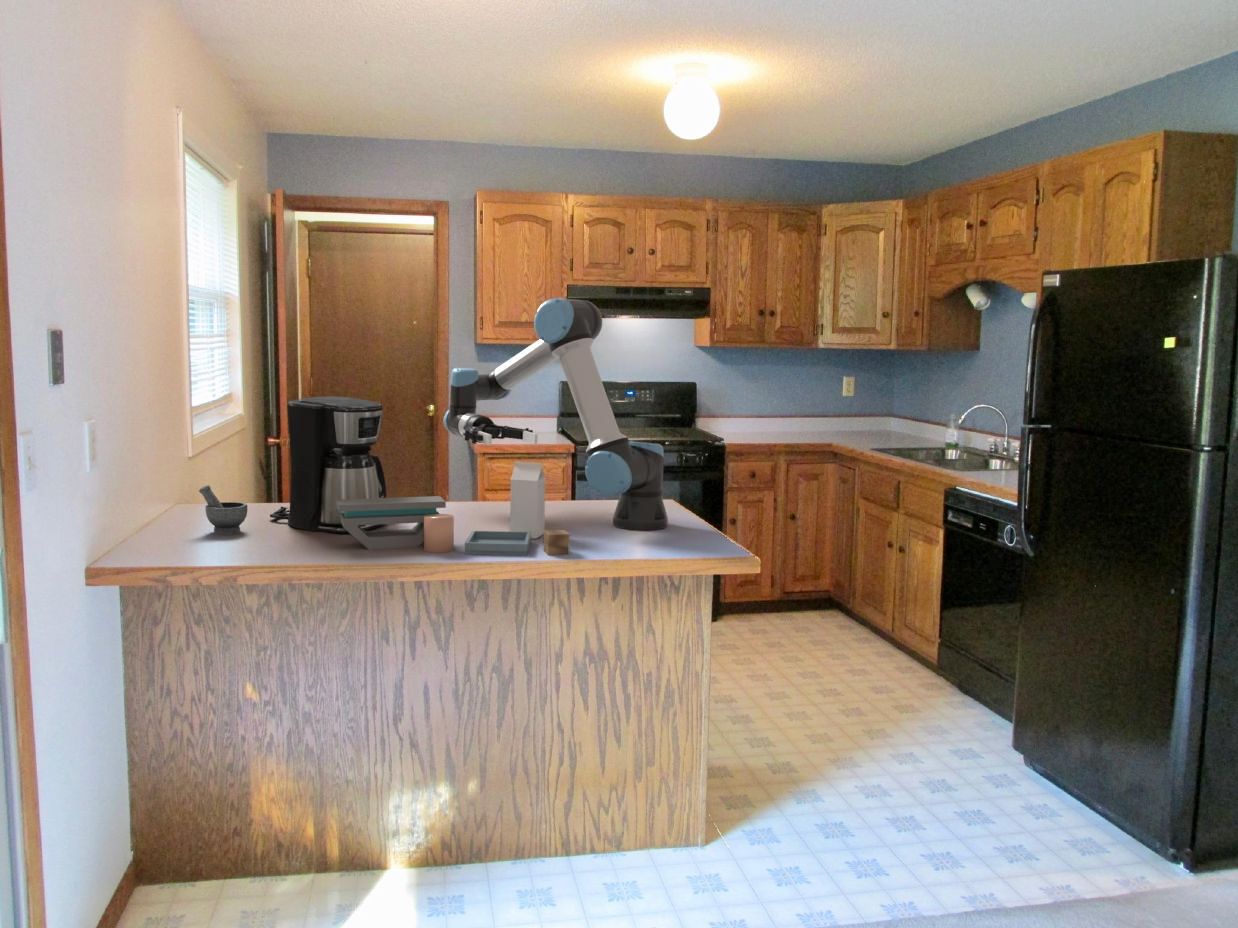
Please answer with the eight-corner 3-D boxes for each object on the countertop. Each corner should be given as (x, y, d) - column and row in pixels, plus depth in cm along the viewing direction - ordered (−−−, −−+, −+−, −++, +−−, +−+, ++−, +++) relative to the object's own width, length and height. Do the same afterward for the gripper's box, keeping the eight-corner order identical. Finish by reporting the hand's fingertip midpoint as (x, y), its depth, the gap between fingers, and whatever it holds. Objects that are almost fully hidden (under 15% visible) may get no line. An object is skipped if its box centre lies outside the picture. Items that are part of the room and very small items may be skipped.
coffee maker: (370, 536, 249) (369, 402, 244) (245, 531, 251) (242, 398, 246) (396, 519, 271) (395, 397, 267) (281, 515, 273) (279, 393, 269)
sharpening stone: (439, 538, 248) (439, 496, 246) (445, 545, 240) (445, 501, 239) (336, 543, 239) (335, 499, 237) (339, 550, 232) (338, 505, 230)
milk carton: (536, 539, 250) (537, 465, 248) (509, 537, 252) (510, 463, 249) (544, 533, 257) (545, 461, 255) (518, 532, 258) (519, 460, 256)
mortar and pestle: (249, 527, 255) (248, 481, 253) (246, 535, 246) (245, 487, 244) (202, 528, 252) (201, 482, 250) (197, 536, 243) (196, 488, 241)
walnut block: (563, 550, 239) (564, 530, 238) (568, 554, 234) (569, 534, 233) (543, 551, 237) (543, 530, 237) (548, 555, 233) (548, 534, 232)
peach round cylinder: (455, 546, 239) (455, 514, 238) (451, 552, 232) (451, 519, 231) (426, 546, 239) (426, 513, 238) (421, 552, 232) (421, 518, 231)
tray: (530, 541, 247) (530, 531, 246) (527, 554, 232) (527, 544, 232) (471, 540, 246) (472, 530, 246) (464, 553, 232) (464, 542, 231)
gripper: (515, 440, 283) (553, 452, 266) (435, 442, 269) (469, 455, 252) (517, 414, 282) (555, 425, 265) (436, 414, 268) (470, 425, 251)
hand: (513, 439), depth 258 cm, fingers open, 13 cm apart
